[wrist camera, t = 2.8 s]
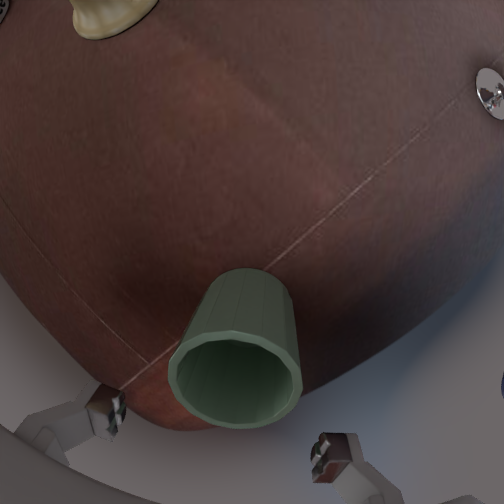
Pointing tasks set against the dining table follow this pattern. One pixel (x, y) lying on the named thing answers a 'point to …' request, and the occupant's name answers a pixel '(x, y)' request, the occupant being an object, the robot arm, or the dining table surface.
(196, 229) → the dining table surface
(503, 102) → the wineglass
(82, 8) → the hand bell
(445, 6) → the dining table surface
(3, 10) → the cup
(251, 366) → the sage cup
